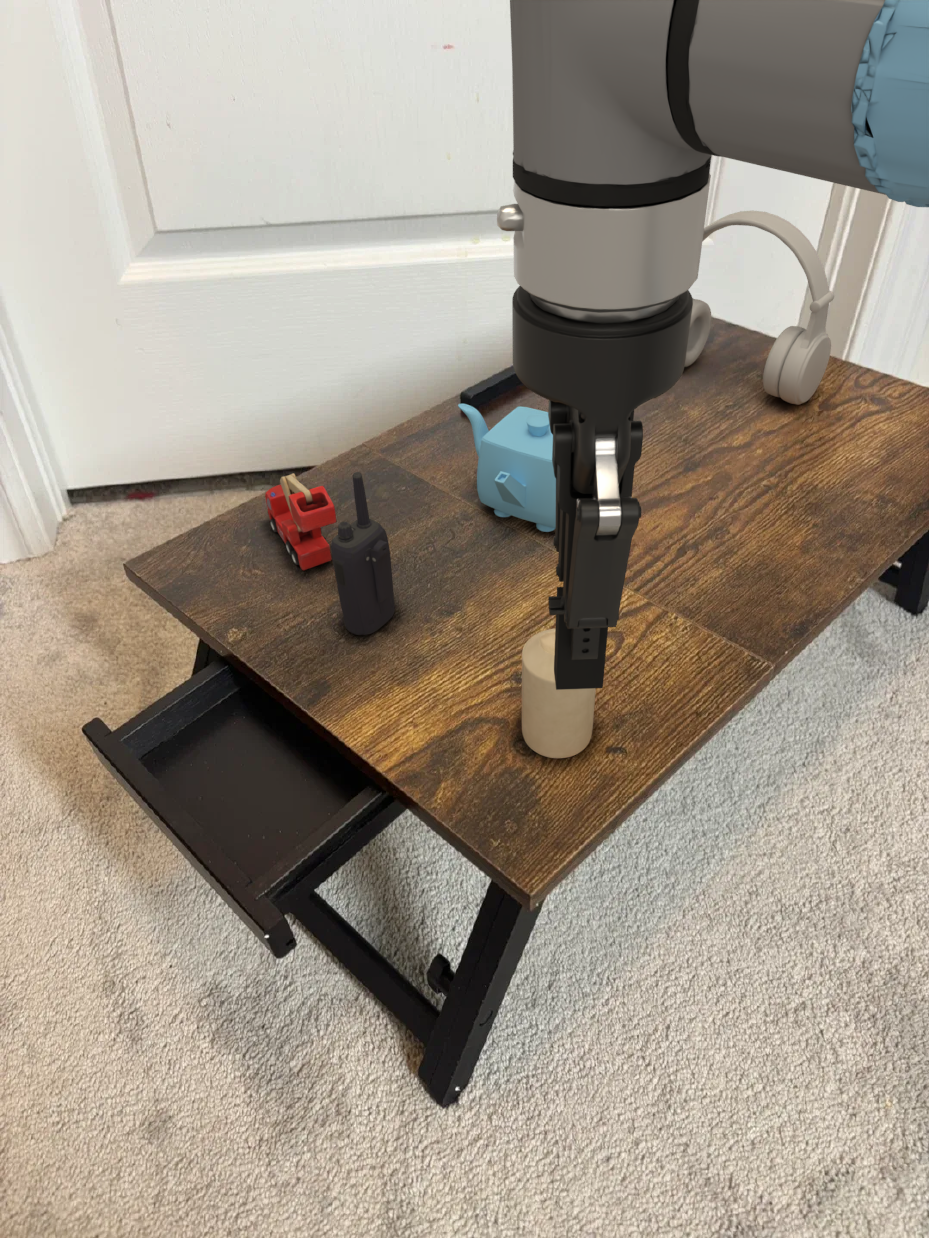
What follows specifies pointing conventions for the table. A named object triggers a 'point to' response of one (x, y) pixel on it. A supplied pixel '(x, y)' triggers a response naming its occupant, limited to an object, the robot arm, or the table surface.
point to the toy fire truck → (301, 520)
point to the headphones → (796, 349)
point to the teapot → (516, 465)
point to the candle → (552, 703)
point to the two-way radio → (363, 569)
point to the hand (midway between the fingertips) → (578, 678)
